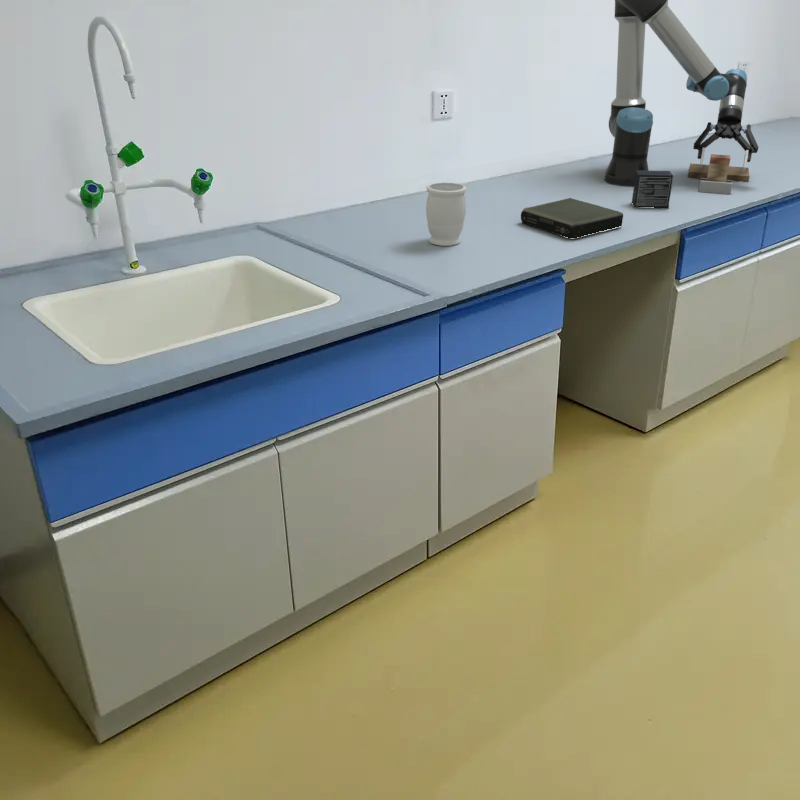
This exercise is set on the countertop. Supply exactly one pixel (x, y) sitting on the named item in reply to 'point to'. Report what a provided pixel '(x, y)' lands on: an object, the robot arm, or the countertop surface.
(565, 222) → the network switch
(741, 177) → the walnut board
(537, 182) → the countertop surface
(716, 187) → the frame
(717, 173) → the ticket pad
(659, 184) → the small box
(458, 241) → the jar
